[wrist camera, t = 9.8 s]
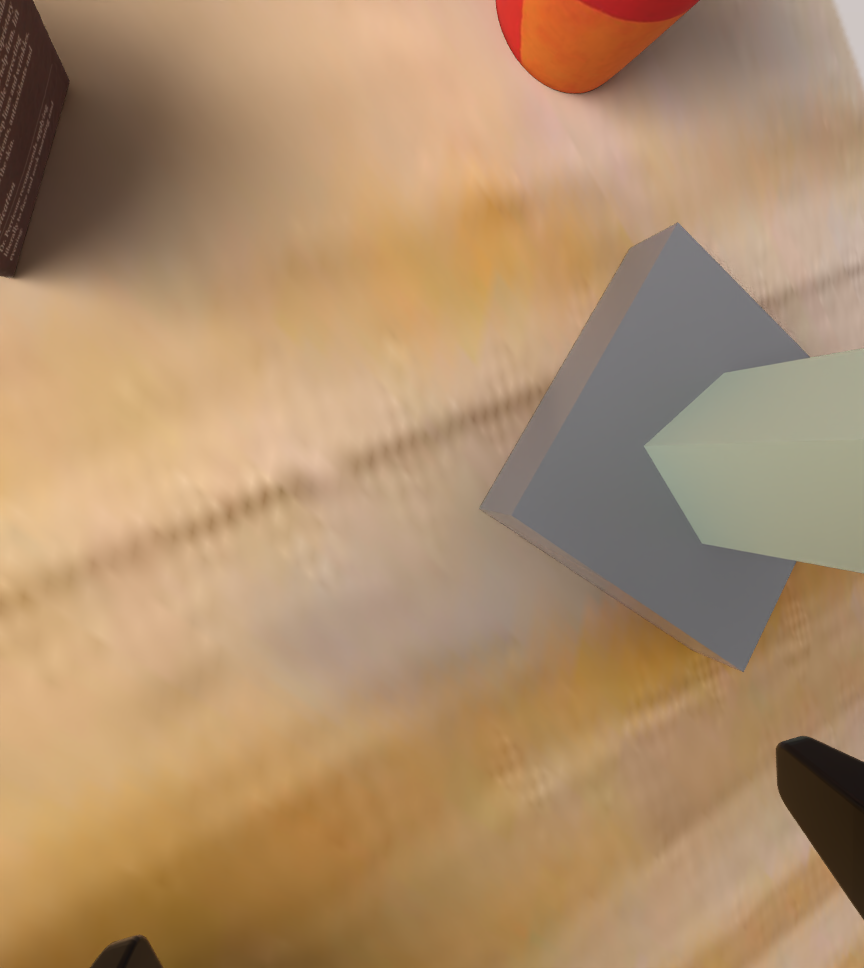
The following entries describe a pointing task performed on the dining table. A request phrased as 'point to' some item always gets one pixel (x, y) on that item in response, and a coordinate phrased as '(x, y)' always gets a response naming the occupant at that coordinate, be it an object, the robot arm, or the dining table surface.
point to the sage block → (774, 460)
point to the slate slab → (624, 460)
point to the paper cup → (583, 36)
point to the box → (24, 119)
